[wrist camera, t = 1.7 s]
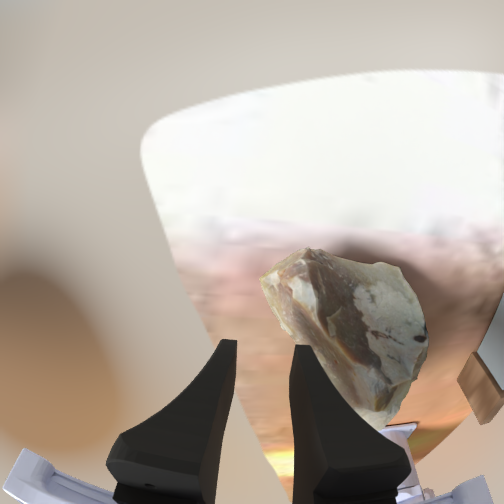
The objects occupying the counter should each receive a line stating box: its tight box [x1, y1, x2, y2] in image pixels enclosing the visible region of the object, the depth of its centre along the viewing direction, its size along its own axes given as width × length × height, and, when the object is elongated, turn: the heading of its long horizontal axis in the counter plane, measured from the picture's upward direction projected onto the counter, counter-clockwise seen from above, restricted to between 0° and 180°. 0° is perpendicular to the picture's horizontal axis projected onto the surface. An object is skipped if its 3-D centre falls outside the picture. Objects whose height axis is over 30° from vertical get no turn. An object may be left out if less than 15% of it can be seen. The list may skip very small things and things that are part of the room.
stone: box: [260, 247, 429, 431], centre depth 18 cm, size 11×14×10 cm
